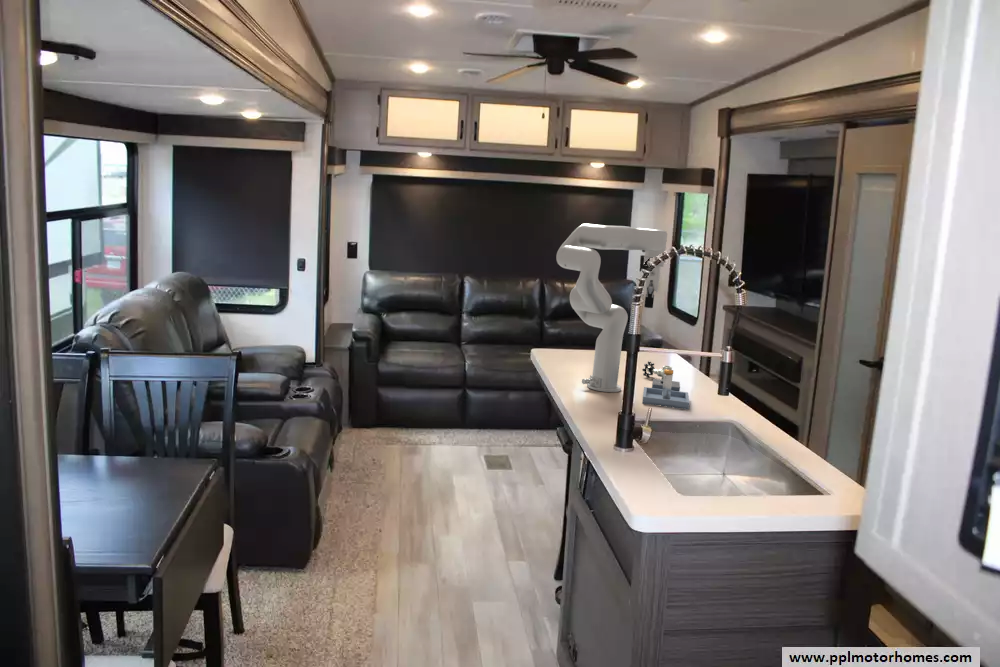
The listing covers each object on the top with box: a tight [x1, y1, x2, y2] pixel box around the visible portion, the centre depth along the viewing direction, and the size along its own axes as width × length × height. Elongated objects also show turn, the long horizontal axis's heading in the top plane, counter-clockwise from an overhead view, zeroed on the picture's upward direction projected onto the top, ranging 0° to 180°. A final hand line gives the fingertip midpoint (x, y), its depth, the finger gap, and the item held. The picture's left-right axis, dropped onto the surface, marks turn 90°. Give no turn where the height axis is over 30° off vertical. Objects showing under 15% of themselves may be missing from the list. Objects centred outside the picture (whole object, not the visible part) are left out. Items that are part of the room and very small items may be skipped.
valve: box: [642, 360, 673, 380], centre depth 335 cm, size 7×7×12 cm
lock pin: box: [662, 369, 674, 400], centre depth 300 cm, size 3×3×11 cm
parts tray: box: [641, 386, 690, 410], centre depth 301 cm, size 16×16×2 cm
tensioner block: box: [651, 378, 681, 392], centre depth 315 cm, size 10×10×4 cm
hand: (648, 306), depth 323 cm, fingers open, 9 cm apart
